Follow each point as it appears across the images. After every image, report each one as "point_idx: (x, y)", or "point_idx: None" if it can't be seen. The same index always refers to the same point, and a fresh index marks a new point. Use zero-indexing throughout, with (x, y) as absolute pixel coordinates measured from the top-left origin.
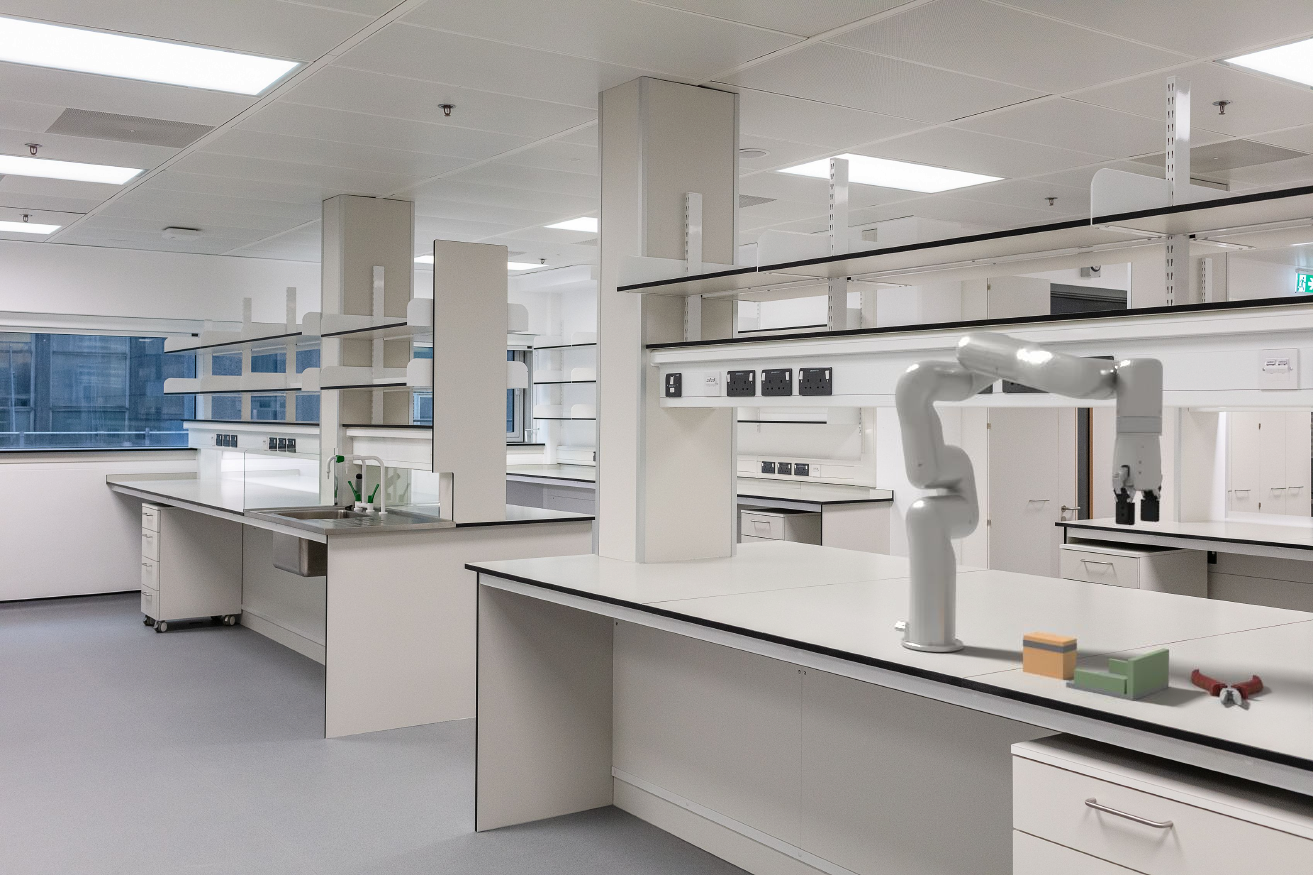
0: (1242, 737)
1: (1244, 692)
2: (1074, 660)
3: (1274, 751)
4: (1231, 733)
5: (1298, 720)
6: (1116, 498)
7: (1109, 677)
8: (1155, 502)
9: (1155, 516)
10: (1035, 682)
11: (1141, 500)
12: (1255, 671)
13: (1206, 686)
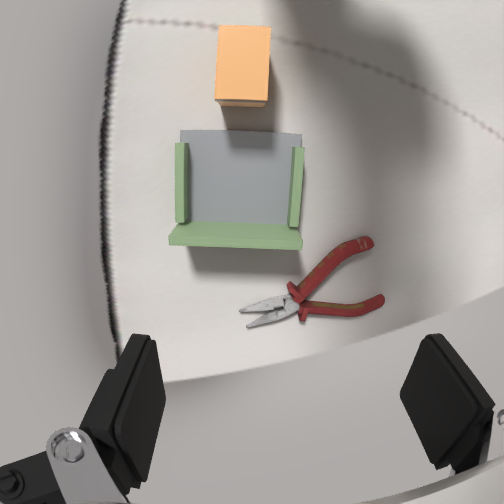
0: None
1: (299, 316)
2: (258, 104)
3: None
4: None
5: (244, 367)
6: (54, 448)
7: (175, 199)
8: (431, 455)
9: (409, 404)
10: (172, 89)
11: (470, 411)
12: (445, 273)
13: (311, 272)
